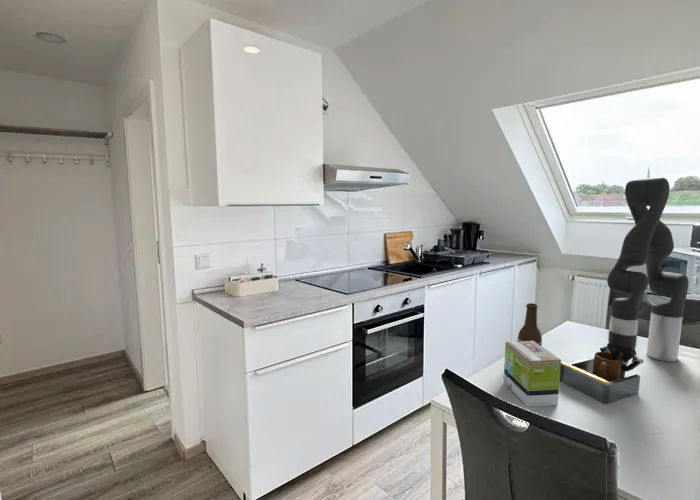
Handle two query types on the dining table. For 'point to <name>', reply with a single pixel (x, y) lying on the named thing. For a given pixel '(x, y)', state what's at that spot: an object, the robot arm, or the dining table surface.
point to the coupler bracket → (597, 382)
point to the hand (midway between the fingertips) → (618, 379)
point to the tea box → (532, 373)
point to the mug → (607, 366)
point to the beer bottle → (530, 326)
